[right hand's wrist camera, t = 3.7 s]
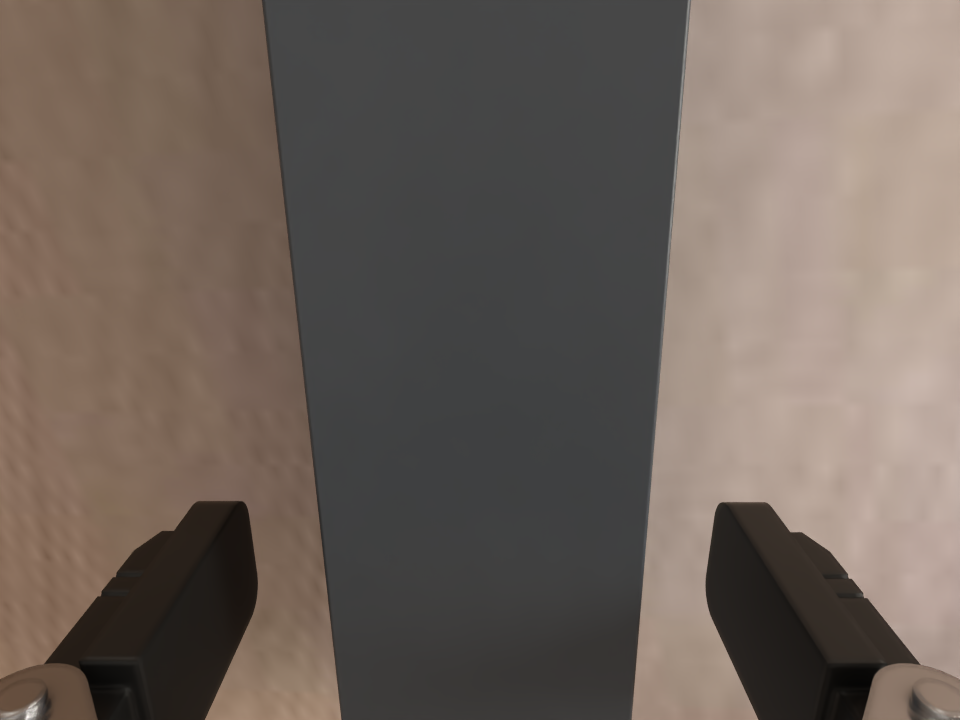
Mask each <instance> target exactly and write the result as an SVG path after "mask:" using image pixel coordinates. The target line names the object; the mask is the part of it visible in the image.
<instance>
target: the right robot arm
mask: <svg viewBox="0 0 960 720" xmlns="http://www.w3.org/2000/svg"><path fill="white" fill-rule="evenodd" d="M257 590H258V577H257V569H256V562H255V555H254V548H253V541H252V534H251V526H250V519H249V513H248V509H247V506H246V504H245V503H244V502H243V501H198V502H196V503H195V504H194V505H193V506H192V507H191V508H190V510H189V511H188V513H187V514H186V515H185V517H184V518H183V519H182V521H181V522H180V523H179V525H178V526H177V527H176V529H175V530H174V531H162V532H160V533H159V534H157V535H156V536H154V537H153V538H152V539H150V540H149V541H147V542H146V543H144V544H143V545H141V546H140V547H138V548H137V549H136V550H134V551H133V553H132V554H131V555H130V556H129V558H128V559H127V560H126V562H125V563H124V564H123V565H122V567H121V568H120V569H119V570H118V572H117V575H116V577H113V578H112V579H111V580H110V582H109V583H108V584H107V585H106V587H105V588H104V589H103V590H102V595H101V596H98V597H97V598H96V599H95V601H94V602H93V603H92V604H91V606H90V607H89V608H88V609H87V611H86V612H85V613H84V614H83V616H82V617H81V618H80V619H79V621H78V622H77V623H76V624H75V626H74V627H73V628H72V630H71V631H70V632H69V633H68V635H67V636H66V637H65V638H64V640H63V641H62V642H61V643H60V645H59V646H58V647H57V648H56V650H55V651H54V652H53V653H52V655H51V656H50V657H49V658H48V660H47V661H46V662H45V664H43V665H37V666H33V667H29V668H26V669H23V670H20V671H17V672H15V673H13V674H11V675H8V676H6V677H4V678H2V679H0V720H205V718H206V716H207V714H208V711H209V709H210V707H211V705H212V703H213V700H214V698H215V696H216V694H217V692H218V690H219V687H220V685H221V683H222V681H223V679H224V676H225V674H226V672H227V670H228V668H229V665H230V663H231V661H232V659H233V657H234V654H235V652H236V650H237V648H238V646H239V643H240V641H241V639H242V637H243V635H244V632H245V630H246V628H247V626H248V624H249V621H250V619H251V617H252V615H253V612H254V608H255V604H256V599H257ZM706 597H707V603H708V608H709V612H710V615H711V617H712V620H713V622H714V624H715V626H716V628H717V630H718V633H719V635H720V637H721V639H722V641H723V643H724V646H725V648H726V650H727V652H728V654H729V657H730V659H731V661H732V663H733V665H734V667H735V670H736V672H737V674H738V676H739V678H740V680H741V683H742V685H743V687H744V689H745V691H746V693H747V696H748V698H749V700H750V702H751V704H752V706H753V709H754V711H755V713H756V715H757V717H758V719H759V720H960V679H958V678H956V677H954V676H952V675H949V674H947V673H945V672H943V671H940V670H937V669H934V668H931V667H927V666H923V665H920V664H919V662H918V661H917V660H916V659H915V657H914V656H913V655H912V654H911V652H910V651H909V650H908V649H907V647H906V646H905V645H904V644H903V642H902V641H901V640H900V639H899V637H898V636H897V635H896V634H895V632H894V631H893V630H892V629H891V627H890V626H889V625H888V624H887V622H886V621H885V620H884V619H883V617H882V616H881V615H880V614H879V612H878V611H877V610H876V609H875V607H874V606H873V605H872V604H871V602H870V601H869V600H868V599H867V598H864V597H863V592H862V591H861V590H860V589H859V587H858V586H857V585H856V584H855V582H854V581H853V580H852V579H849V578H848V574H847V572H846V571H845V570H844V569H843V567H842V566H841V565H840V564H839V563H838V561H837V560H836V559H835V558H834V556H833V555H832V554H831V553H830V552H829V551H828V550H827V549H825V548H824V547H822V546H821V545H819V544H818V543H816V542H815V541H814V540H812V539H811V538H809V537H808V536H806V535H805V534H803V533H802V532H790V531H789V530H788V529H787V527H786V526H785V525H784V523H783V522H782V521H781V519H780V518H779V516H778V515H777V514H776V512H775V511H774V510H773V508H772V507H771V506H770V505H769V504H768V503H765V502H722V503H720V504H719V505H718V506H717V509H716V512H715V517H714V524H713V531H712V538H711V545H710V552H709V559H708V566H707V573H706Z"/></svg>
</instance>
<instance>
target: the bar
mask: <svg viewBox="0 0 960 720" xmlns="http://www.w3.org/2000/svg"><path fill="white" fill-rule="evenodd" d="M262 5H263V14H264V23H265V32H266V41H267V50H268V59H269V68H270V77H271V86H272V95H273V104H274V113H275V122H276V132H277V141H278V150H279V159H280V168H281V177H282V186H283V195H284V204H285V213H286V222H287V231H288V240H289V249H290V258H291V267H292V276H293V285H294V294H295V303H296V312H297V321H298V330H299V339H300V349H301V358H302V367H303V376H304V385H305V394H306V403H307V412H308V421H309V430H310V439H311V448H312V457H313V466H314V475H315V484H316V493H317V502H318V511H319V520H320V529H321V538H322V547H323V557H324V566H325V575H326V584H327V593H328V602H329V611H330V620H331V629H332V638H333V647H334V656H335V665H336V674H337V683H338V692H339V701H340V710H341V719H342V720H631V719H632V707H633V695H634V683H635V671H636V658H637V646H638V634H639V622H640V610H641V598H642V586H643V574H644V562H645V549H646V537H647V525H648V513H649V501H650V489H651V477H652V465H653V453H654V440H655V428H656V416H657V404H658V392H659V380H660V368H661V356H662V344H663V332H664V319H665V307H666V295H667V283H668V271H669V259H670V247H671V235H672V223H673V210H674V198H675V186H676V174H677V162H678V150H679V138H680V126H681V114H682V101H683V89H684V77H685V65H686V53H687V41H688V29H689V17H690V5H691V0H262Z"/></svg>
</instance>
